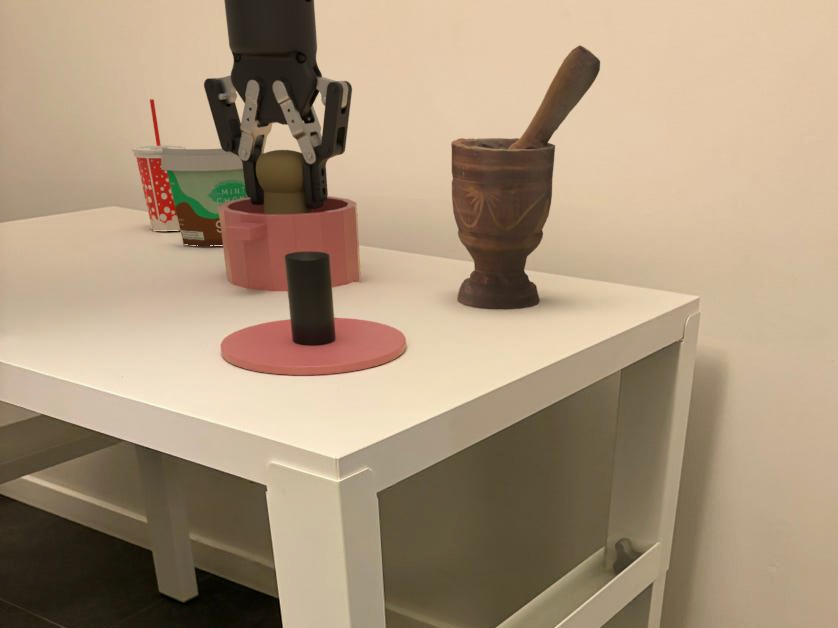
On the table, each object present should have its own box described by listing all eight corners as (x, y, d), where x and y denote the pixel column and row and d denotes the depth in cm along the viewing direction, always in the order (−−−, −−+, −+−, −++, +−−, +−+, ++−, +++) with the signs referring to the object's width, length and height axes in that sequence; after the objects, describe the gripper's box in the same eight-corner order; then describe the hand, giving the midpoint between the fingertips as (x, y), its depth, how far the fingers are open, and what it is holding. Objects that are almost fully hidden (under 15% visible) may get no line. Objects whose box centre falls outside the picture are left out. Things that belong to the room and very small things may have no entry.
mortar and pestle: (551, 289, 94) (562, 44, 83) (596, 309, 87) (613, 45, 76) (438, 299, 90) (434, 44, 79) (475, 321, 83) (476, 45, 72)
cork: (269, 285, 92) (256, 155, 86) (256, 272, 97) (243, 148, 91) (332, 280, 94) (323, 152, 88) (316, 268, 99) (307, 146, 93)
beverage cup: (206, 226, 123) (189, 98, 115) (179, 234, 118) (159, 101, 110) (163, 223, 124) (144, 97, 117) (135, 231, 119) (112, 100, 112)
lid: (185, 371, 71) (168, 266, 67) (281, 326, 82) (272, 233, 78) (357, 392, 67) (350, 282, 63) (434, 342, 78) (432, 245, 74)
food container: (208, 253, 108) (195, 152, 102) (173, 247, 111) (158, 148, 106) (291, 237, 116) (282, 143, 111) (255, 232, 119) (245, 140, 114)
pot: (186, 296, 90) (174, 214, 87) (284, 260, 105) (277, 188, 101) (308, 308, 87) (300, 223, 83) (392, 269, 101) (389, 195, 97)
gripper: (170, -13, 82) (199, 207, 91) (323, -14, 78) (338, 216, 87) (219, -9, 88) (242, 196, 97) (364, -10, 84) (374, 204, 93)
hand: (287, 204), depth 92 cm, fingers closed on cork, 5 cm apart
